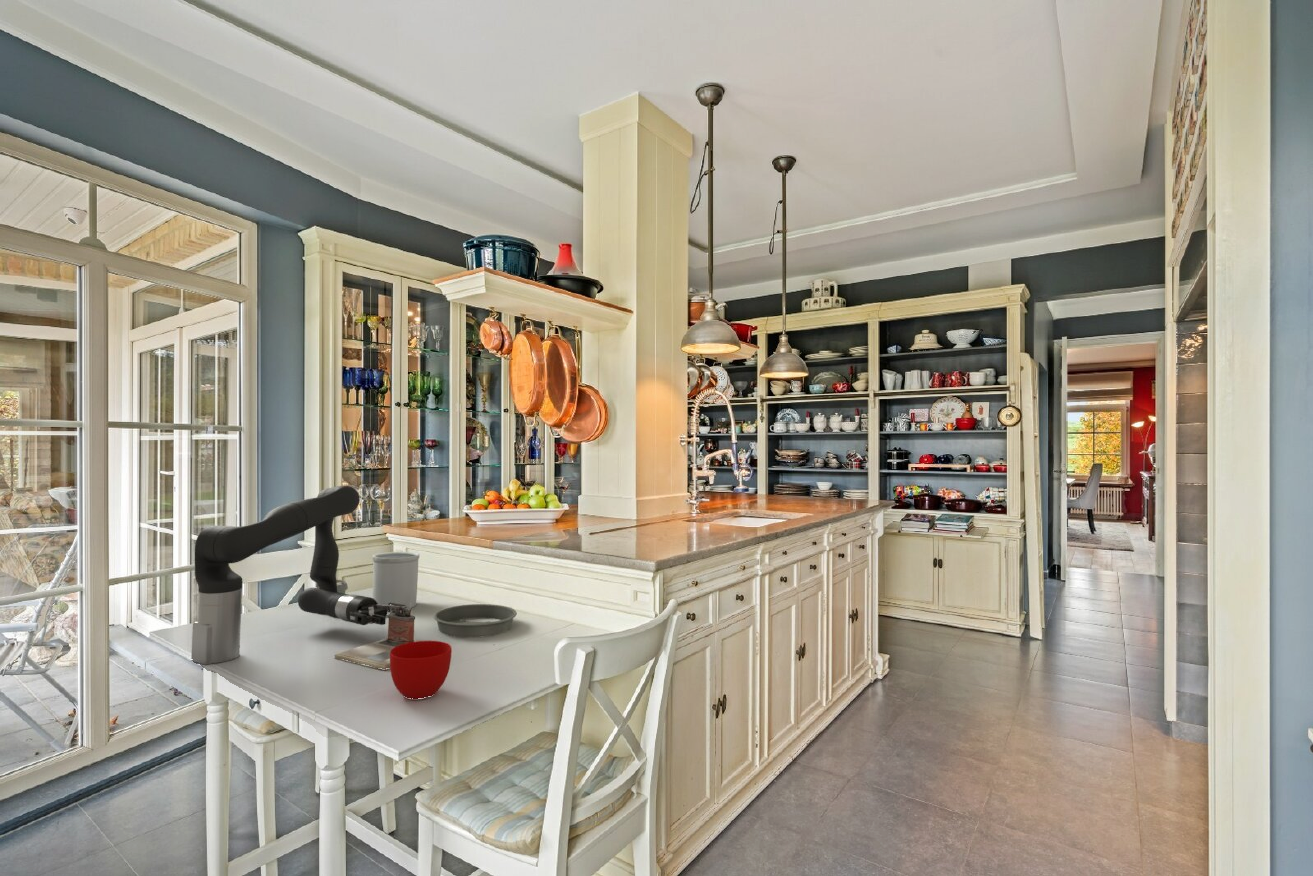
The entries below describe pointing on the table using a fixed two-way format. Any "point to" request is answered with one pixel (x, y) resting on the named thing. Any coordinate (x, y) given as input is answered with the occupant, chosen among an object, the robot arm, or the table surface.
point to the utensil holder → (395, 578)
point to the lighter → (400, 626)
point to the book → (370, 654)
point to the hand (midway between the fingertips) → (397, 617)
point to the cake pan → (454, 627)
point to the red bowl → (420, 667)
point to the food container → (339, 586)
